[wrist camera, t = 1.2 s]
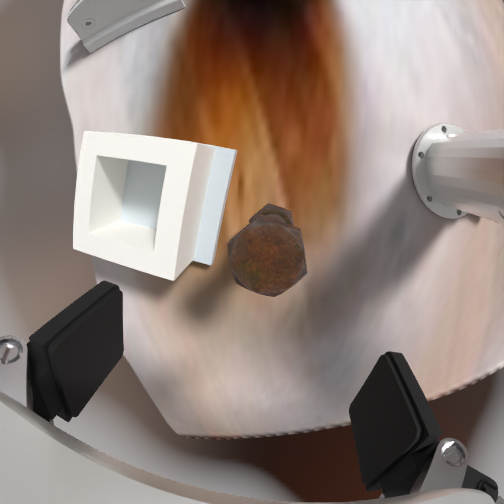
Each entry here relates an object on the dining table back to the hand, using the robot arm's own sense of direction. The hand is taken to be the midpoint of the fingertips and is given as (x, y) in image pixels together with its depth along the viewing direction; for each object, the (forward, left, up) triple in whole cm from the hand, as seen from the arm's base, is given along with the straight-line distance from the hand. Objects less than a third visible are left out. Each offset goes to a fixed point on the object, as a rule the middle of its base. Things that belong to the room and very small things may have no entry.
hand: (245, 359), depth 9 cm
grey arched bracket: (+27, -27, -26) cm, 46 cm away
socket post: (+15, 0, -25) cm, 29 cm away
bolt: (0, 0, -25) cm, 25 cm away
